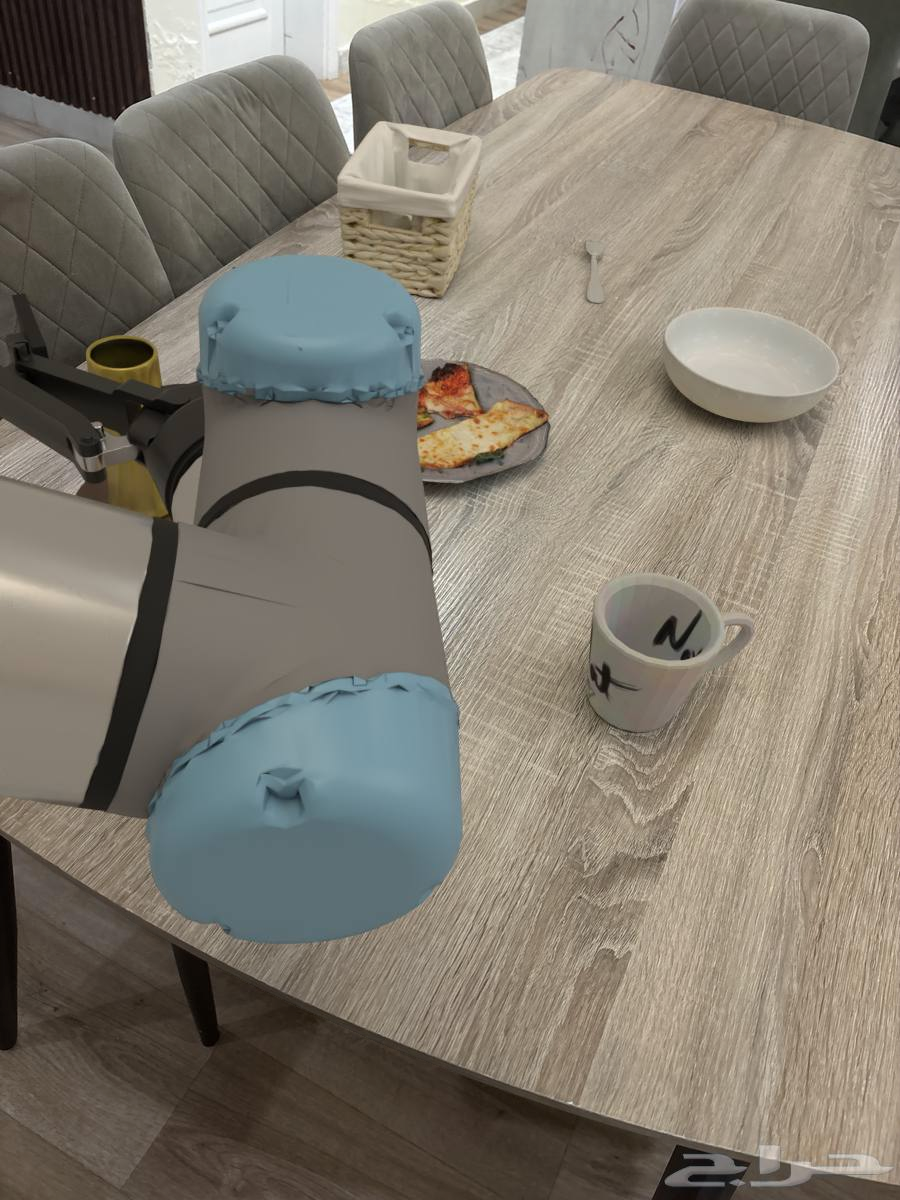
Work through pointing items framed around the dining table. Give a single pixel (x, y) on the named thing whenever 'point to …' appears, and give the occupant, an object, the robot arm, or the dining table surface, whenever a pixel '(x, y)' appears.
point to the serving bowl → (747, 363)
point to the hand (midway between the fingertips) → (135, 299)
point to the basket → (409, 205)
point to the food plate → (475, 422)
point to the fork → (594, 273)
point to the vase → (141, 363)
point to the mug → (654, 647)
